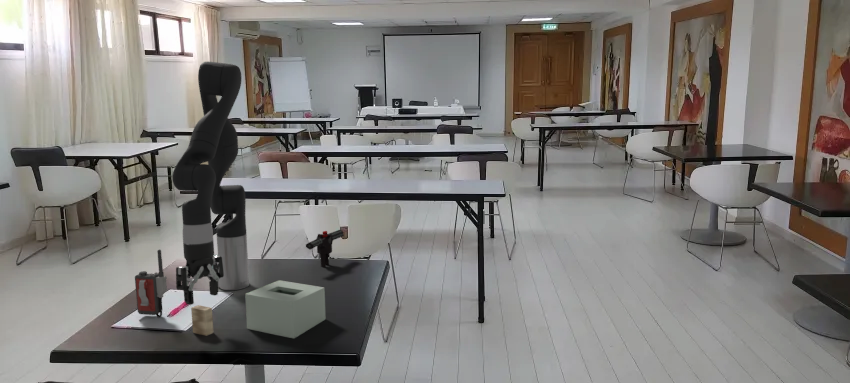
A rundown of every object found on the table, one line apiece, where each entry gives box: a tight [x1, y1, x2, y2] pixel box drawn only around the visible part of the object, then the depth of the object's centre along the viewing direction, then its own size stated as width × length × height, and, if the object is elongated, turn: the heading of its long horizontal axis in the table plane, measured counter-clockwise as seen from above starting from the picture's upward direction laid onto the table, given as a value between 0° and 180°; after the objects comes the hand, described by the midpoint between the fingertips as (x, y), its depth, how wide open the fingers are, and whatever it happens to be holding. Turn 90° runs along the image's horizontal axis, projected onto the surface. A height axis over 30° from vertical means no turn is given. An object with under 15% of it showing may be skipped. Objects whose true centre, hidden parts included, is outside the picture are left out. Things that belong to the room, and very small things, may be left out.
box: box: [244, 279, 326, 339], centre depth 174 cm, size 16×14×10 cm
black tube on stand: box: [305, 229, 344, 268], centre depth 225 cm, size 5×20×15 cm, turn 155°
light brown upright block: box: [190, 304, 214, 337], centre depth 170 cm, size 5×2×7 cm, turn 63°
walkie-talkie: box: [134, 249, 168, 318], centre depth 180 cm, size 9×4×20 cm, turn 79°
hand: (202, 299), depth 168 cm, fingers open, 8 cm apart
